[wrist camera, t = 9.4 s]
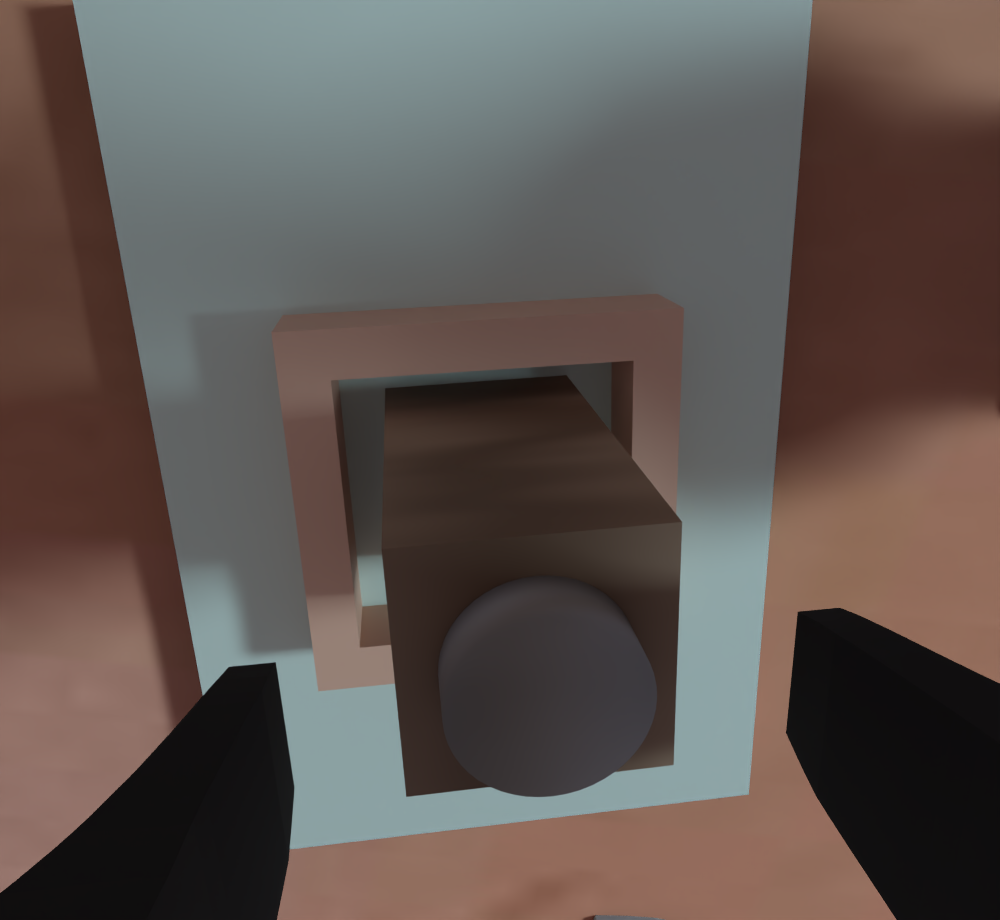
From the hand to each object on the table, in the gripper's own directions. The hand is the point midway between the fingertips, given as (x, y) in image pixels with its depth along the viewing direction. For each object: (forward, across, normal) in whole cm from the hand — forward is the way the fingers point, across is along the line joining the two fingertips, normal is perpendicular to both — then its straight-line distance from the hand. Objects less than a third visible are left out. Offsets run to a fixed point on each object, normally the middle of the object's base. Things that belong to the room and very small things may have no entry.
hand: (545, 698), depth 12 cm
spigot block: (+8, 0, 0) cm, 8 cm away
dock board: (+10, 0, 0) cm, 10 cm away
